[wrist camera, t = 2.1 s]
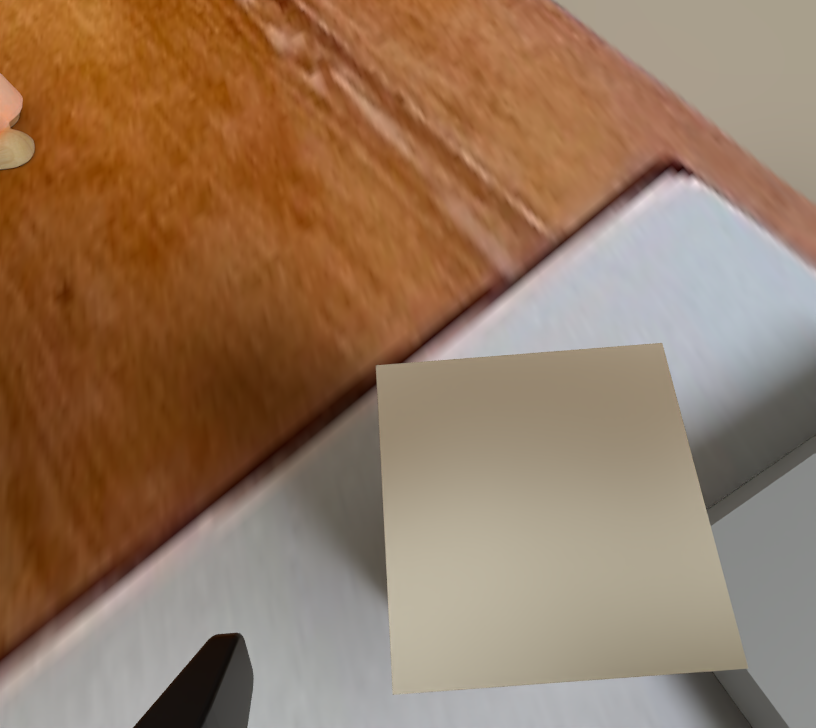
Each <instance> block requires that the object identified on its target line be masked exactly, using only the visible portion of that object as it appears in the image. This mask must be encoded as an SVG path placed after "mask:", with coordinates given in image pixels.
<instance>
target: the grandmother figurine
mask: <svg viewBox="0 0 816 728" xmlns="http://www.w3.org/2000/svg"><path fill="white" fill-rule="evenodd" d="M22 101H23V99H22V96H21V94H20V93H19V92H18V91H17V90H16V89H15V88H14V87H13V86H12V85H11V84H10V83H9V82H8V81H7V79H6V78H5V77H4V76H3V75H2V74H1V73H0V170H1V169H10V168H15V167H18V166H21V165H23V164H25V163H26V162H28V161H29V160H30V159H31V157H32V156H33V154H34V149H35V145H34V141H33V139H32V138H31V137H30V136H29V135H27V134H25V133H23V132H21V131H18V130H14V129H11V127H12V126H13V125H15V123H16V122H17V121H18V119H19V116H20V111H21V109H22Z"/></svg>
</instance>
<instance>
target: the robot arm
mask: <svg viewBox="0 0 816 728" xmlns="http://www.w3.org/2000/svg"><path fill="white" fill-rule="evenodd" d="M252 691H253V669H252V665H251V662H250V658H249V655H248V651H247V647H246V644H245V640H244V638H243V636H242V635H241V634H240V633H227V634H217V635H214V636H212V637H211V638H210V639H209V640H208V641H207V642H206V643H205V644H204V646H203V647H202V648H201V649H200V650H199V651H198V653H197V654H196V655H195V656H194V657H193V658H192V660H191V661H190V662H189V663H188V664H187V665H186V667H185V668H184V669H183V670H182V671H181V672H180V674H179V675H178V676H177V677H176V678H175V679H174V681H173V682H172V683H171V684H170V685H169V686H168V688H167V689H166V690H165V691H164V692H163V693H162V695H161V696H160V697H159V698H158V699H157V700H156V702H155V703H154V704H153V705H152V706H151V707H150V709H149V710H148V711H147V712H146V713H145V714H144V716H143V717H142V718H141V719H140V720H139V721H138V723H137V724H136V725H135V726H134V727H133V728H247V726H248V719H249V712H250V705H251V698H252Z"/></svg>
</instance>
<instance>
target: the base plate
mask: <svg viewBox="0 0 816 728" xmlns="http://www.w3.org/2000/svg"><path fill="white" fill-rule="evenodd" d="M707 514H708V518H709V522H710V525H711V529H712V533H713V537H714V541H715V544H716V548H717V552H718V556H719V559H720V563H721V567H722V571H723V575H724V578H725V582H726V586H727V590H728V593H729V597H730V601H731V605H732V608H733V612H734V616H735V620H736V624H737V627H738V631H739V635H740V639H741V642H742V646H743V650H744V654H745V657H746V661H747V665H748V669H736V670H723V671H712V672H713V673H714V674H715V676H716V677H717V679H718V680H719V681H720V683H721V684H722V685H723V687H724V688H725V690H726V691H727V692H728V694H729V695H730V697H731V698H732V699H733V701H734V702H735V704H736V705H737V706H738V708H739V709H740V711H741V712H742V713H743V715H744V716H745V718H746V719H747V720H748V722H749V723H750V725H751V726H752V727H753V728H816V435H815V436H813V437H812V438H810V439H809V440H808V441H806V442H805V443H803V444H802V445H800V446H799V447H798V448H796V449H795V450H793V451H792V452H790V453H789V454H787V455H786V456H785V457H783V458H782V459H780V460H779V461H777V462H776V463H774V464H773V465H772V466H770V467H769V468H767V469H766V470H764V471H763V472H761V473H760V474H759V475H757V476H756V477H754V478H753V479H751V480H750V481H749V482H747V483H746V484H744V485H743V486H741V487H740V488H738V489H737V490H736V491H734V492H733V493H731V494H730V495H728V496H727V497H725V498H724V499H723V500H721V501H720V502H718V503H717V504H715V505H714V506H713V507H711V508H710V509H708V510H707Z"/></svg>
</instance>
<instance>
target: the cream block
mask: <svg viewBox="0 0 816 728" xmlns="http://www.w3.org/2000/svg"><path fill="white" fill-rule="evenodd" d="M376 377H377V397H378V416H379V435H380V455H381V474H382V494H383V513H384V533H385V552H386V571H387V591H388V610H389V630H390V649H391V668H392V688H393V695H394V694H408V693H422V692H435V691H449V690H463V689H476V688H490V687H504V686H517V685H531V684H545V683H558V682H572V681H586V680H599V679H613V678H627V677H640V676H654V675H668V674H681V673H695V672H709V671H723V670H736V669H748V665H747V661H746V657H745V654H744V650H743V646H742V642H741V639H740V635H739V631H738V627H737V624H736V620H735V616H734V612H733V608H732V605H731V601H730V597H729V593H728V590H727V586H726V582H725V578H724V575H723V571H722V567H721V563H720V559H719V556H718V552H717V548H716V544H715V541H714V537H713V533H712V529H711V525H710V522H709V518H708V514H707V510H706V507H705V503H704V499H703V495H702V492H701V488H700V484H699V480H698V476H697V473H696V469H695V465H694V461H693V458H692V454H691V450H690V446H689V443H688V439H687V435H686V431H685V427H684V424H683V420H682V416H681V412H680V409H679V405H678V401H677V397H676V394H675V390H674V386H673V382H672V378H671V375H670V371H669V367H668V363H667V360H666V356H665V352H664V348H663V344H662V343H655V344H643V345H630V346H617V347H605V348H592V349H579V350H567V351H554V352H541V353H529V354H516V355H503V356H490V357H478V358H465V359H452V360H440V361H427V362H414V363H402V364H389V365H376Z"/></svg>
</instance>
